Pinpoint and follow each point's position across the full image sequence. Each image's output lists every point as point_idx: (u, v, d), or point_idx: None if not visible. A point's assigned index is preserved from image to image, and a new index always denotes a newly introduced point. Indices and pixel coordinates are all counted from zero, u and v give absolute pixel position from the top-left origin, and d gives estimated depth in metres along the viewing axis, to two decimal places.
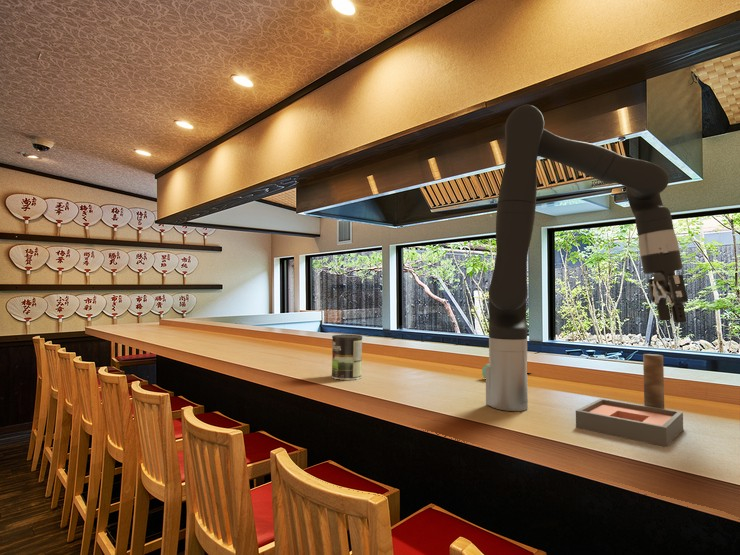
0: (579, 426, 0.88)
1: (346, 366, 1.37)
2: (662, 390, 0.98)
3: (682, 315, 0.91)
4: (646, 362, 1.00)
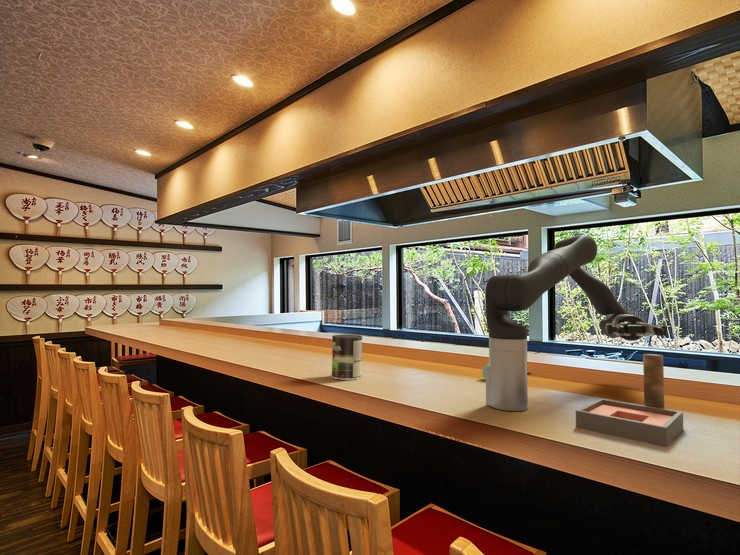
0: (579, 426, 0.88)
1: (346, 366, 1.37)
2: (662, 390, 0.98)
3: None
4: (646, 362, 1.00)
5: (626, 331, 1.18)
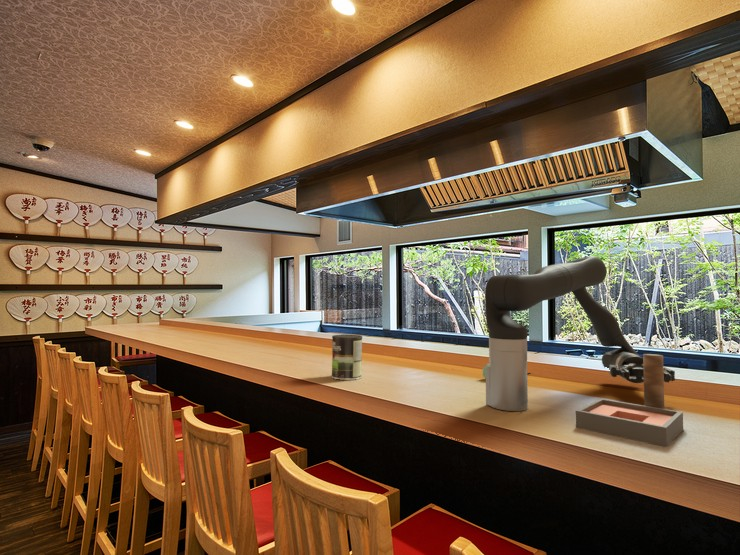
0: (579, 426, 0.88)
1: (346, 366, 1.37)
2: (662, 390, 0.98)
3: None
4: (646, 362, 1.00)
5: (631, 374, 1.12)
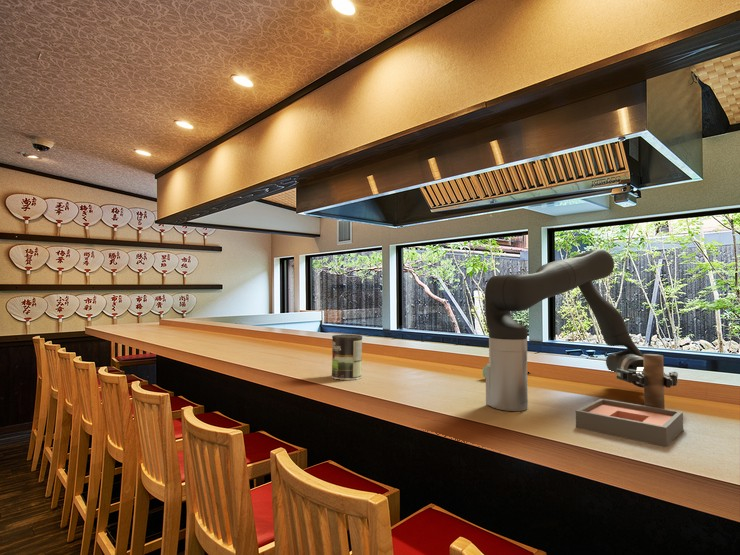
0: (579, 426, 0.88)
1: (346, 366, 1.37)
2: (662, 390, 0.98)
3: None
4: (646, 362, 1.00)
5: None
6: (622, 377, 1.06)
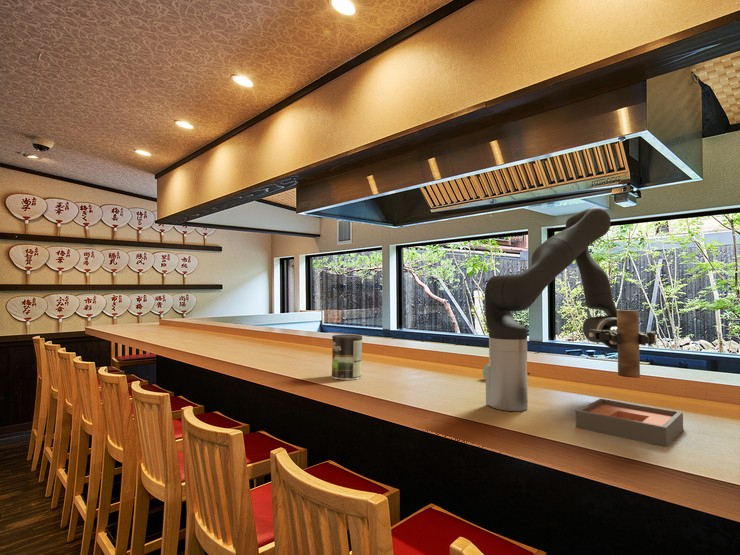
0: (579, 426, 0.88)
1: (346, 366, 1.37)
2: (637, 348, 0.88)
3: (647, 341, 0.88)
4: (619, 318, 0.90)
5: None
6: (595, 337, 0.96)
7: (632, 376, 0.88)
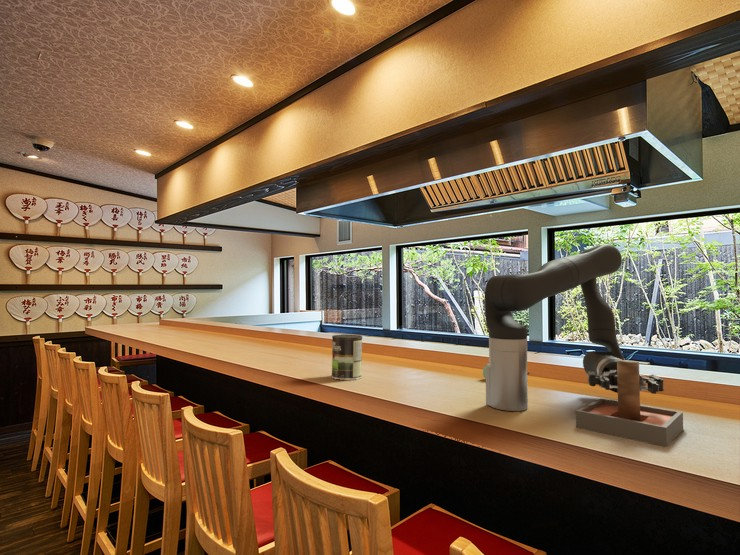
0: (579, 426, 0.88)
1: (346, 366, 1.37)
2: (637, 401, 0.87)
3: None
4: (619, 370, 0.89)
5: (613, 383, 0.94)
6: (588, 380, 0.97)
7: None
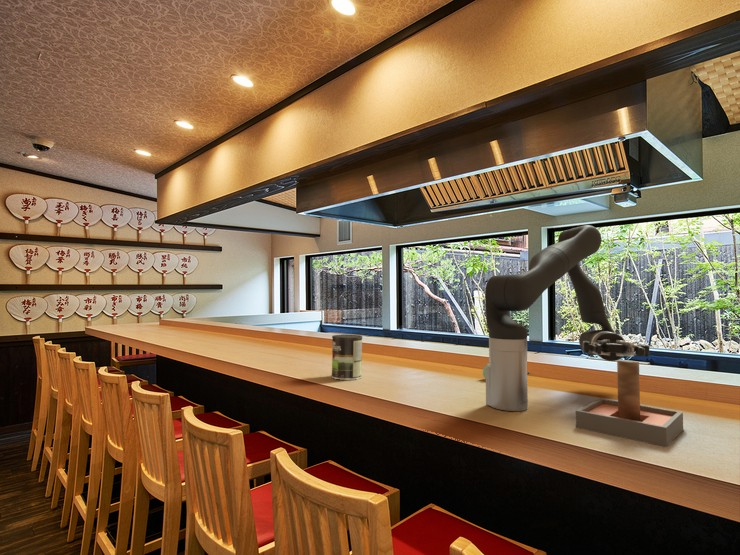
0: (579, 426, 0.88)
1: (346, 366, 1.37)
2: (638, 401, 0.87)
3: None
4: (620, 370, 0.89)
5: (604, 350, 1.06)
6: (583, 348, 1.08)
7: None
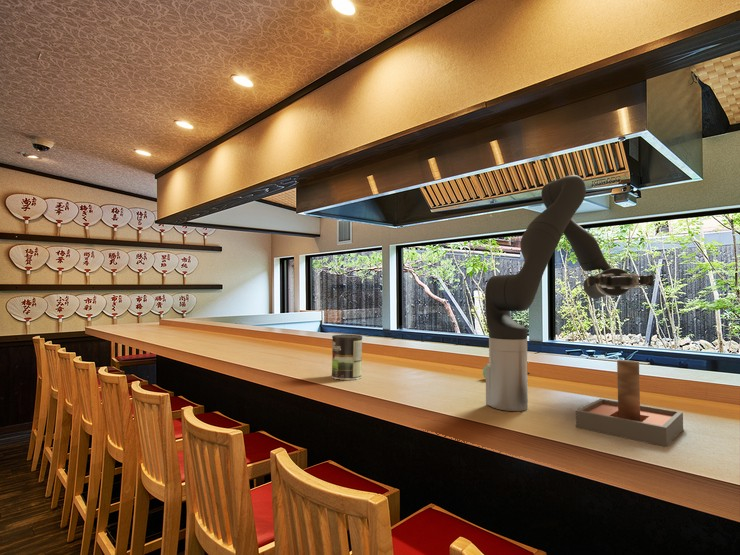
0: (579, 426, 0.88)
1: (346, 366, 1.37)
2: (638, 401, 0.87)
3: (648, 281, 1.00)
4: (620, 370, 0.89)
5: (609, 283, 1.07)
6: (588, 283, 1.10)
7: None
